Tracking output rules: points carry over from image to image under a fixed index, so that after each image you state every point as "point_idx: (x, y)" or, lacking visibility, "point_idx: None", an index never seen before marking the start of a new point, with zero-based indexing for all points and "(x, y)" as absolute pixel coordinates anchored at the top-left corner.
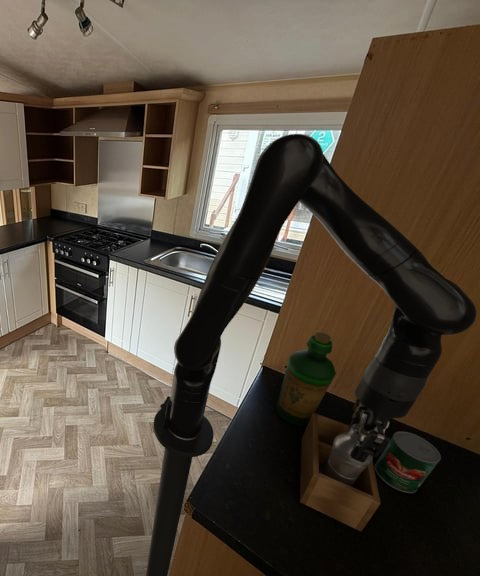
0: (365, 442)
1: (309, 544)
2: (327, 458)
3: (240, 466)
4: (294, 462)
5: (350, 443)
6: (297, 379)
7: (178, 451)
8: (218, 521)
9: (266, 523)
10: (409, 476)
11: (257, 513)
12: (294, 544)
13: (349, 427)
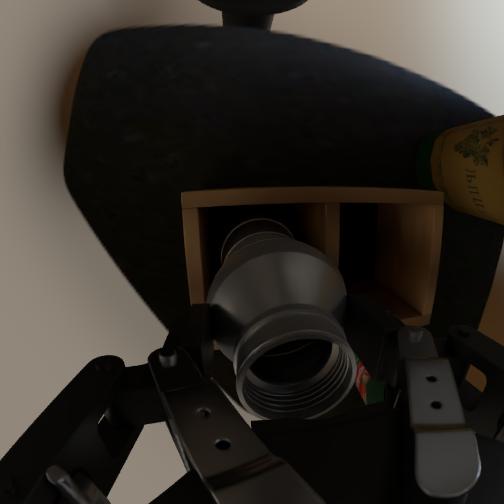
0: (50, 412)
1: (122, 215)
2: (312, 234)
3: (218, 65)
4: (307, 171)
5: (246, 309)
6: None
7: None
8: (80, 75)
9: (115, 140)
10: (358, 380)
11: (125, 121)
12: (107, 191)
13: (365, 304)
